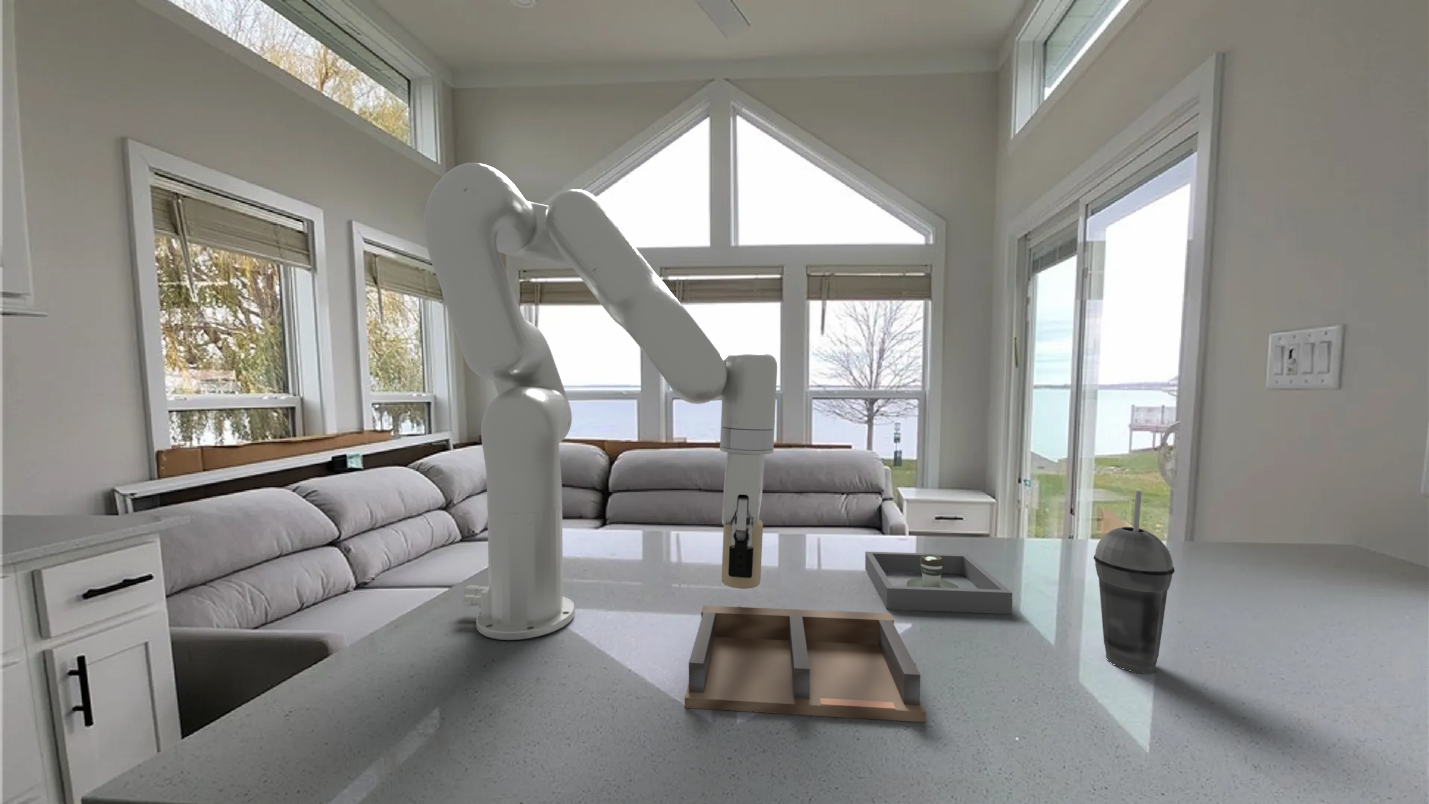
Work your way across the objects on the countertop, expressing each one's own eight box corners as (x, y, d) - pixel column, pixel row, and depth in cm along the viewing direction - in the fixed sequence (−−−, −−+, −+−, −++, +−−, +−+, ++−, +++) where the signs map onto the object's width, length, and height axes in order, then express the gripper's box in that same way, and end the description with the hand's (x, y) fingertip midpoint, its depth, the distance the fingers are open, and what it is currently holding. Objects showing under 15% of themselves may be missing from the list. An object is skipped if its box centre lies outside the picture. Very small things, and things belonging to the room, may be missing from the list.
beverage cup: (1154, 653, 63) (1158, 485, 63) (1185, 685, 56) (1190, 498, 56) (1082, 643, 66) (1085, 482, 65) (1104, 673, 59) (1108, 493, 58)
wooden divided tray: (684, 707, 53) (684, 667, 53) (703, 636, 68) (703, 605, 67) (925, 722, 50) (926, 680, 50) (889, 645, 65) (890, 613, 65)
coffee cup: (977, 583, 85) (977, 552, 85) (967, 609, 75) (968, 574, 75) (900, 569, 92) (900, 540, 92) (881, 592, 82) (881, 560, 82)
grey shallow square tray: (886, 609, 76) (886, 588, 76) (865, 568, 93) (865, 551, 93) (1012, 614, 74) (1012, 592, 74) (966, 571, 91) (967, 554, 91)
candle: (757, 591, 72) (761, 517, 72) (717, 586, 73) (721, 514, 73) (762, 577, 77) (765, 509, 77) (725, 573, 78) (728, 506, 78)
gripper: (725, 434, 84) (720, 549, 84) (714, 445, 67) (708, 589, 67) (773, 437, 83) (768, 552, 83) (774, 449, 66) (768, 594, 66)
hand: (741, 567), depth 75 cm, fingers closed on candle, 5 cm apart
